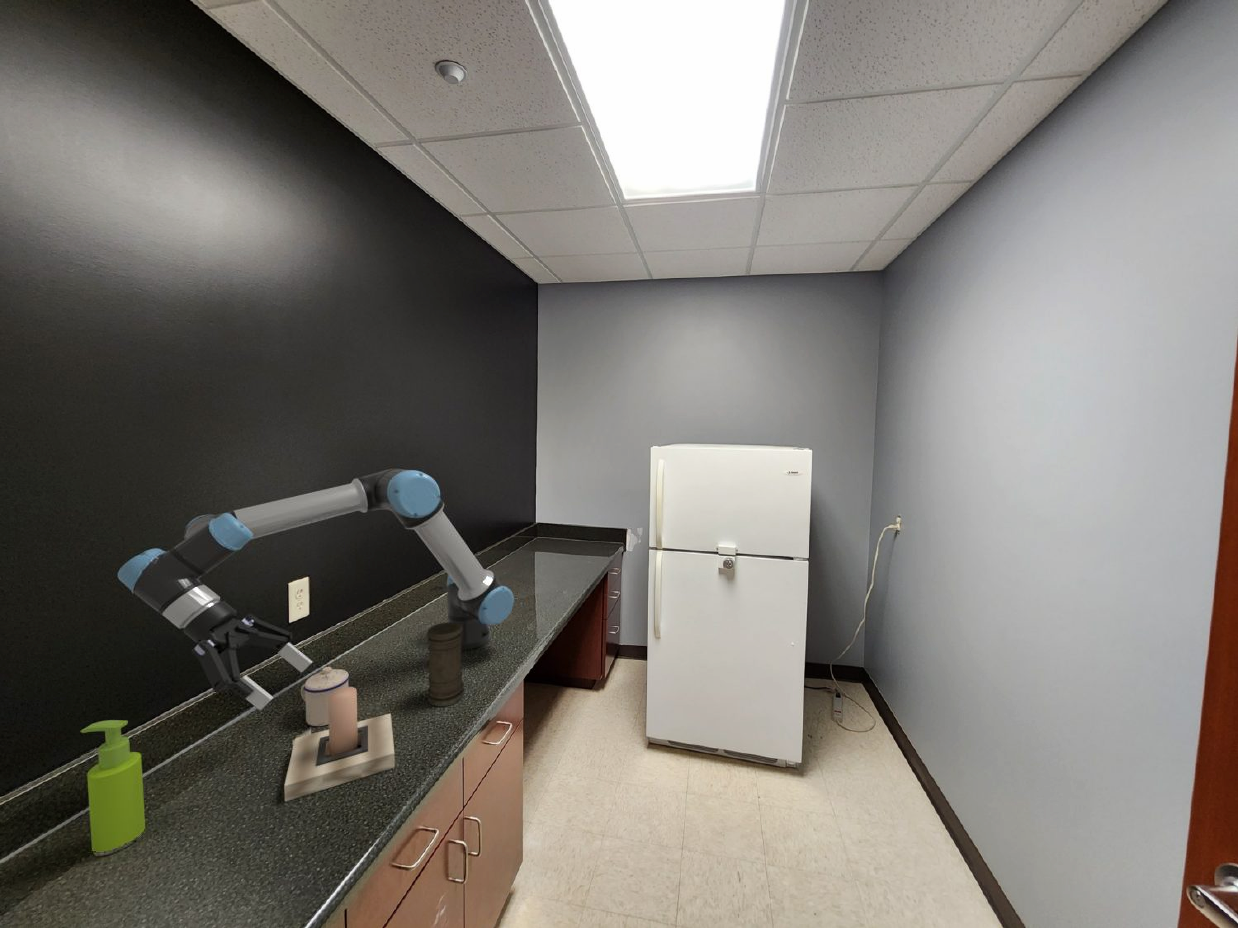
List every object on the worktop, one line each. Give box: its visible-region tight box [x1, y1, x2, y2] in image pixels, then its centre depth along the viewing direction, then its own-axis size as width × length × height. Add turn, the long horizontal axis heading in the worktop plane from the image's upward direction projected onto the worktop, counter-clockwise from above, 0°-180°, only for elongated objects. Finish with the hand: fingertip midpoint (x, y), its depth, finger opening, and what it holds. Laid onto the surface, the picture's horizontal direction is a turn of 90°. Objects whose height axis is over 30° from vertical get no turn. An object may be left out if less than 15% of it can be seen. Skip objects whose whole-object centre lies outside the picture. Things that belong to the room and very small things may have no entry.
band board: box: [284, 713, 396, 803], centre depth 94 cm, size 18×15×3 cm
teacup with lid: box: [300, 666, 350, 727], centre depth 108 cm, size 12×9×12 cm
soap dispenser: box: [80, 719, 146, 852], centre depth 74 cm, size 6×7×20 cm
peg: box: [328, 686, 359, 757], centre depth 93 cm, size 5×5×14 cm
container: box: [426, 621, 465, 707], centre depth 116 cm, size 9×9×18 cm
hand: (288, 684), depth 91 cm, fingers open, 13 cm apart
